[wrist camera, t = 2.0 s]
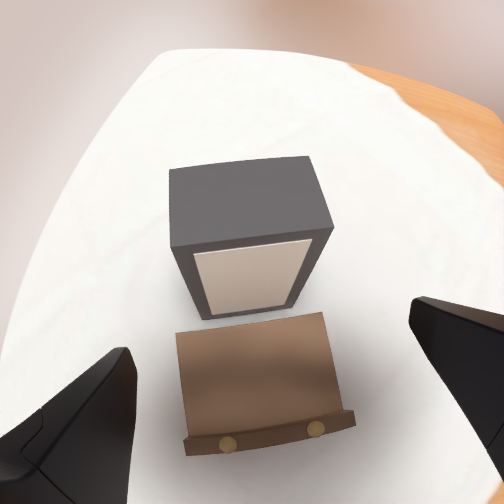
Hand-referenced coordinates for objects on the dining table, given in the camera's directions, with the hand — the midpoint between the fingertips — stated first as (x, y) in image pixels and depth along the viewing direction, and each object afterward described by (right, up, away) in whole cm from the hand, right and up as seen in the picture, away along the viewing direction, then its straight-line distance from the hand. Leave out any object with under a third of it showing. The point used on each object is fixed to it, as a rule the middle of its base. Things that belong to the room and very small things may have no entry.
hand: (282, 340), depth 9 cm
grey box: (-2, 0, +14) cm, 14 cm away
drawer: (0, -6, +11) cm, 12 cm away
